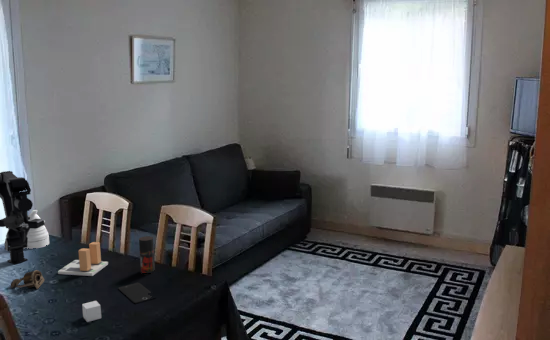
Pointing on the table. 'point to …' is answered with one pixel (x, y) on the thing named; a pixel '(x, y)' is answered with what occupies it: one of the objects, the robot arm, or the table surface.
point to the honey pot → (37, 234)
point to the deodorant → (146, 254)
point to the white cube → (91, 311)
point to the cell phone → (135, 292)
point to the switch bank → (75, 269)
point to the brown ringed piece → (29, 280)
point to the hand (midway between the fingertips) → (23, 241)
